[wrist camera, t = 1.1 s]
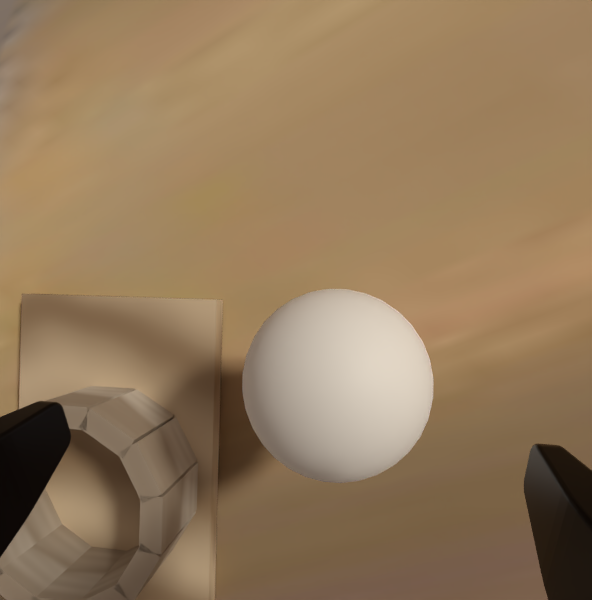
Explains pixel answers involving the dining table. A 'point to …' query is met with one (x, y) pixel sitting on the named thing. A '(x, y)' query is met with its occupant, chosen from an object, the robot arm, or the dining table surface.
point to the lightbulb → (337, 385)
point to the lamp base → (163, 373)
